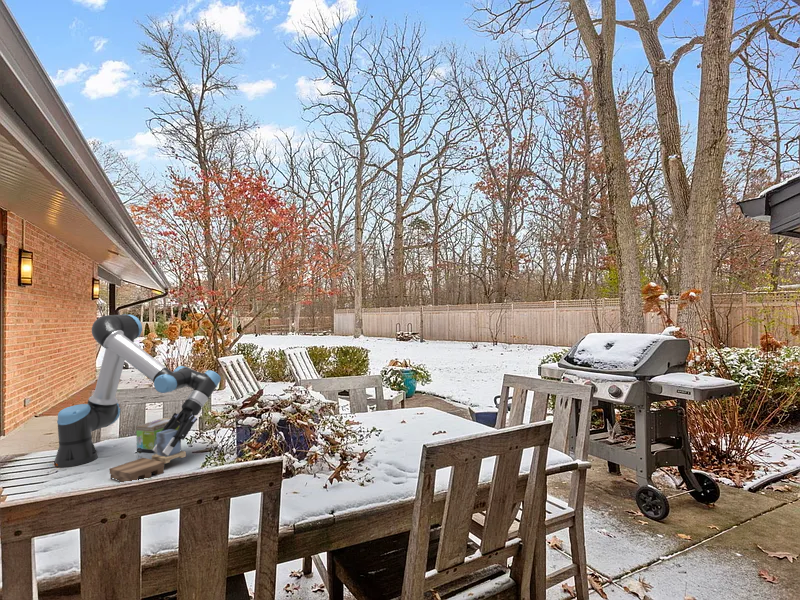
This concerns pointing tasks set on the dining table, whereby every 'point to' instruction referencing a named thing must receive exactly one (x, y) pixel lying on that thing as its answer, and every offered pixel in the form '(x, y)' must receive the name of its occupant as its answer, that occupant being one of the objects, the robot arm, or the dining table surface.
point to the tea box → (149, 437)
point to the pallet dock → (137, 469)
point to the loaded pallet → (167, 459)
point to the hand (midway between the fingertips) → (160, 452)
